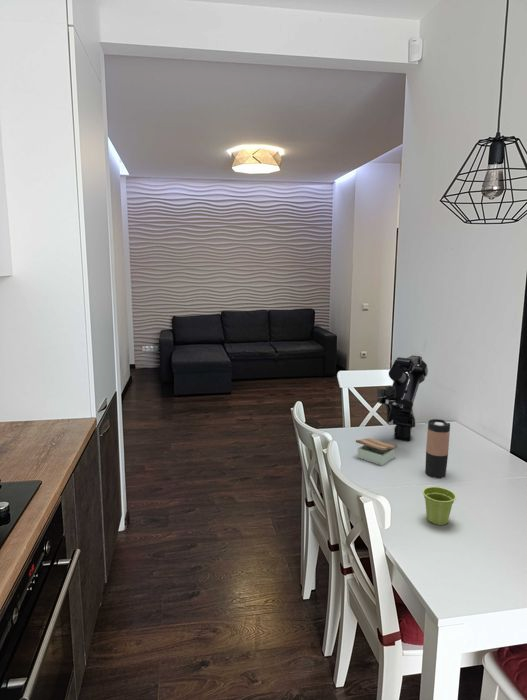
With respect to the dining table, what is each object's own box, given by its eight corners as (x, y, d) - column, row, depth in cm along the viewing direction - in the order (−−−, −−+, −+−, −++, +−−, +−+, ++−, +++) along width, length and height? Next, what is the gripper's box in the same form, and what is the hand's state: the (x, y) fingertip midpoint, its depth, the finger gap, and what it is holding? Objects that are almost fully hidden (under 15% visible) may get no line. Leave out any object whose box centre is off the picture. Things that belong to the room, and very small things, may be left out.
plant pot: (417, 511, 148) (418, 486, 146) (447, 512, 148) (449, 486, 146) (426, 528, 139) (428, 501, 137) (458, 528, 139) (460, 501, 137)
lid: (369, 440, 195) (370, 438, 195) (396, 447, 188) (396, 445, 188) (355, 442, 187) (355, 440, 187) (383, 450, 179) (383, 448, 179)
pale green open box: (370, 450, 196) (370, 441, 195) (394, 457, 188) (395, 448, 188) (357, 457, 188) (357, 448, 188) (382, 465, 181) (382, 455, 180)
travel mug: (423, 476, 172) (427, 424, 168) (425, 468, 179) (428, 418, 175) (446, 480, 169) (450, 427, 165) (446, 471, 176) (450, 420, 172)
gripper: (372, 380, 204) (361, 414, 201) (395, 379, 186) (383, 416, 183) (393, 388, 206) (383, 422, 204) (418, 389, 188) (407, 426, 186)
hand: (388, 421), depth 194 cm, fingers closed
